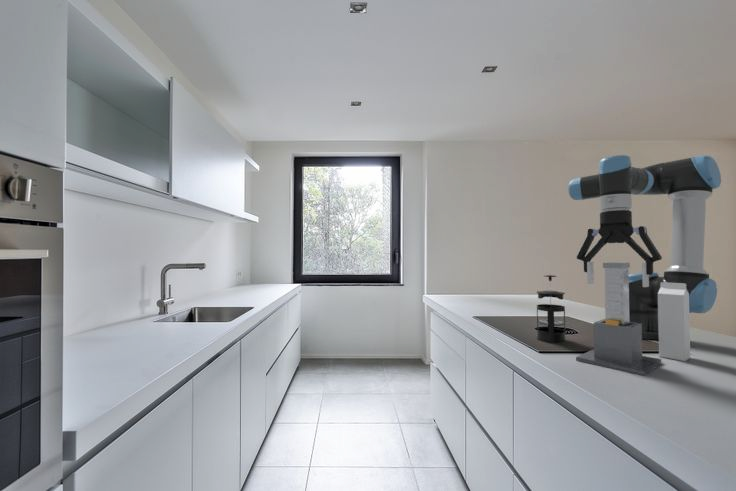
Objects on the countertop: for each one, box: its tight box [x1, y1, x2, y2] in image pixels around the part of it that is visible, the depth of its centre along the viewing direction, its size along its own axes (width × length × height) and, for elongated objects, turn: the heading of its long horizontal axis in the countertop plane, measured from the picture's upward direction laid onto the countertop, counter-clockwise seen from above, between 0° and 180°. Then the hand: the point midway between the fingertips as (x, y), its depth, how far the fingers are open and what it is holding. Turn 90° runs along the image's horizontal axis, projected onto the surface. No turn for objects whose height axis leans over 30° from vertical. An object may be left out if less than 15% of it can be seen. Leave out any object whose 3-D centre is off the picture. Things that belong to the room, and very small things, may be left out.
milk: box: [658, 282, 691, 362], centre depth 105 cm, size 6×6×22 cm
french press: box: [536, 274, 567, 344], centre depth 127 cm, size 12×9×23 cm
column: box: [602, 261, 631, 326], centre depth 101 cm, size 7×4×20 cm, turn 129°
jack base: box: [575, 318, 662, 376], centre depth 101 cm, size 16×16×12 cm
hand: (616, 285), depth 101 cm, fingers open, 13 cm apart
